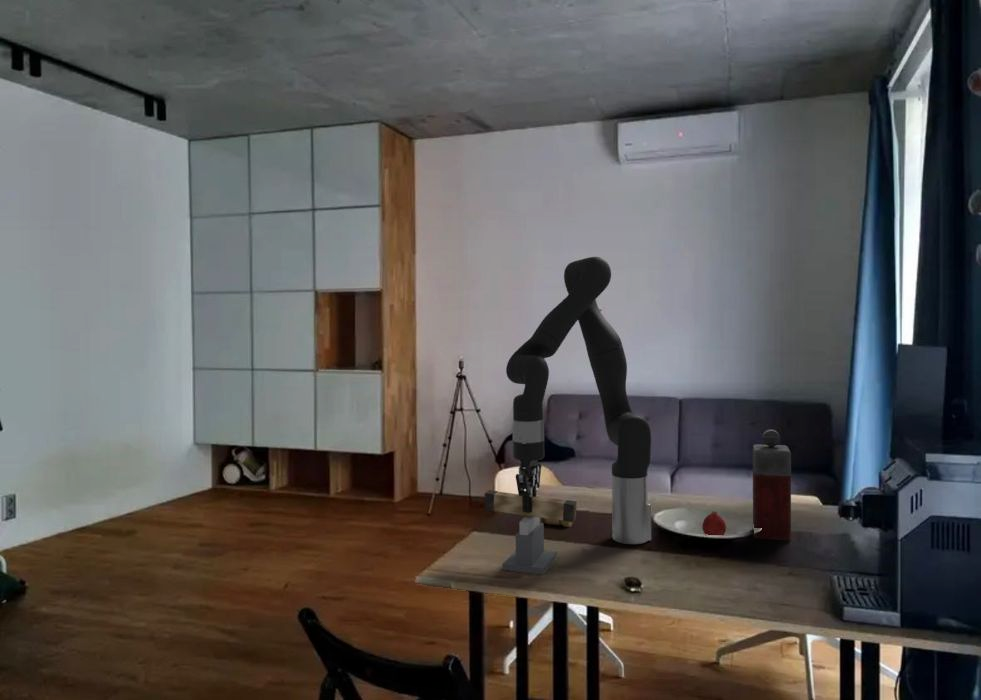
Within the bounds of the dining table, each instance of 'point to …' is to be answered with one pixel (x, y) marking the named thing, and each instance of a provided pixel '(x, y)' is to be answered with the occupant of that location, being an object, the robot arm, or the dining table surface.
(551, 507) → the oak beam
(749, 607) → the dining table surface
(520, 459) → the robot arm
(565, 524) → the gavel
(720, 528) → the onion
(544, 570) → the stand
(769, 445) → the red liquor decanter
